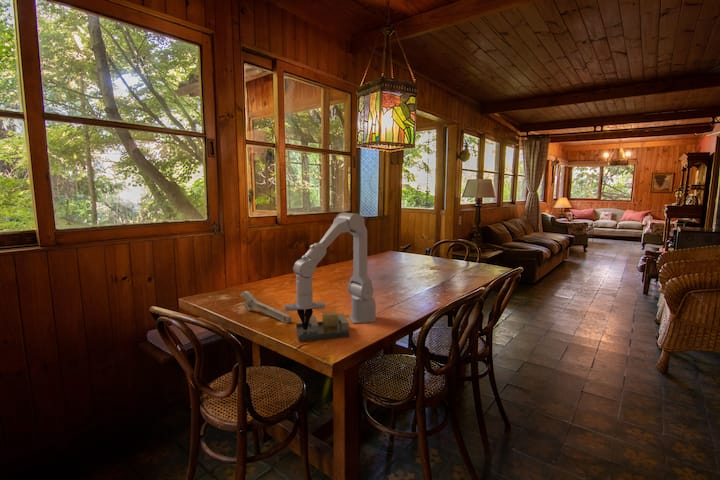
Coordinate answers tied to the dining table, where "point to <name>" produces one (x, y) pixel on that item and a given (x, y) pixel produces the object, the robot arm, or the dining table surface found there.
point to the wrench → (263, 308)
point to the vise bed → (340, 333)
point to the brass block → (329, 321)
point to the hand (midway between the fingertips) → (305, 328)
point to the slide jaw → (313, 325)
